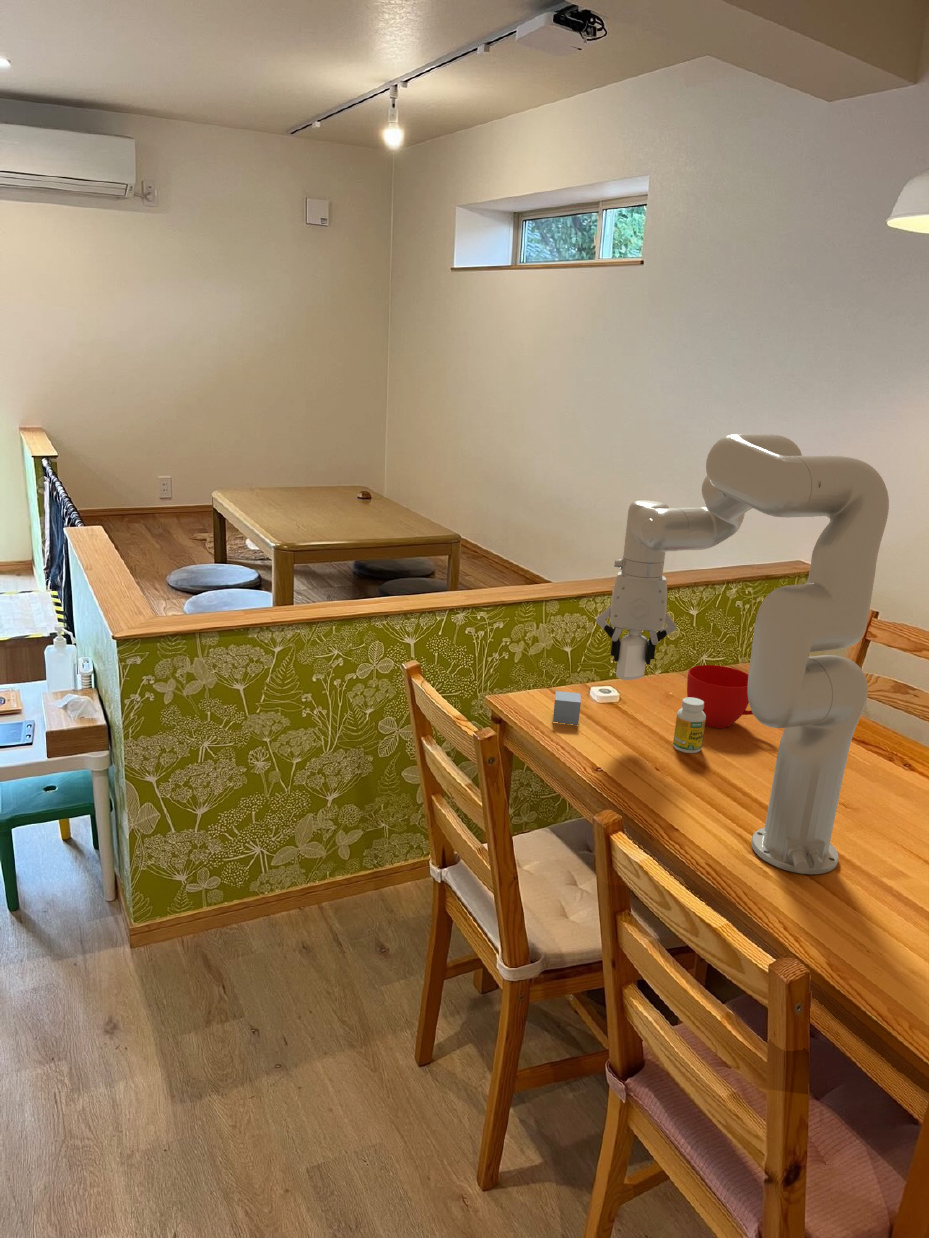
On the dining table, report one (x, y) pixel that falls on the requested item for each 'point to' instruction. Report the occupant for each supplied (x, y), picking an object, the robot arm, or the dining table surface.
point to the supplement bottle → (689, 726)
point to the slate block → (567, 707)
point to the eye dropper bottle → (632, 656)
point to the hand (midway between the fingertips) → (631, 660)
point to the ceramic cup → (719, 693)
